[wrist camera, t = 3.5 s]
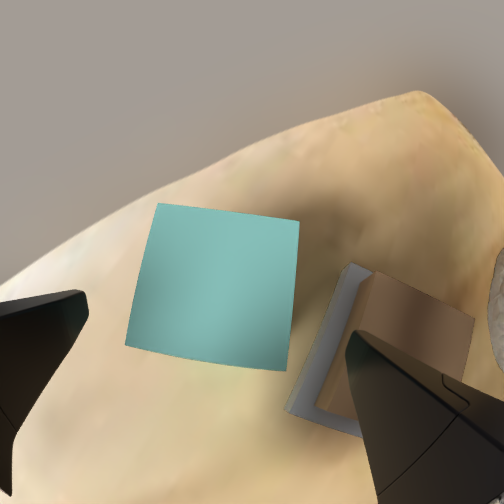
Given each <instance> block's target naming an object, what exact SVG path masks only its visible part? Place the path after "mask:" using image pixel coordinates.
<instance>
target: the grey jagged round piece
mask: <svg viewBox="0 0 504 504" xmlns="http://www.w3.org/2000/svg"><path fill="white" fill-rule="evenodd" d="M494 269H495V272H494V278H493V279H492V284H491V289H490V294H489V297H490V298H489V299H490V302H488V325H489V332H490V339H491V344H492V345H493V352H494V355H495V358H496V361H497V363H498V364H499V367H500V368H501V370H502V371H503V372H504V249H502V251H501V253H500V255H498V257H497V262H496V265H495V268H494Z"/></svg>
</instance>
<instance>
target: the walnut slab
mask: <svg viewBox="0 0 504 504" xmlns="http://www.w3.org/2000/svg"><path fill="white" fill-rule="evenodd" d="M474 321H475V318H473V317H471V316H469V315H467V314H465V313H463V312H461V311H459V310H457V309H455V308H453V307H451V306H449V305H447V304H445V303H443V302H441V301H439V300H437V299H435V298H433V297H431V296H429V295H427V294H425V293H423V292H421V291H419V290H417V289H415V288H413V287H411V286H408V285H406V284H404V283H402V282H400V281H398V280H396V279H394V278H392V277H390V276H388V275H385V274H383V273H381V272H379V271H375V272H374V273H373V274H371V275H370V276H369V277H367V278H366V279H364V280H363V281H362V282H360V284H359V288H358V291H357V294H356V297H355V300H354V303H353V306H352V309H351V312H350V315H349V318H348V320H347V323H346V326H345V329H344V332H343V334H342V337H341V340H340V342H339V345H338V348H337V350H336V353H335V356H334V358H333V361H332V363H331V366H330V368H329V371H328V373H327V376H326V378H325V380H324V383H323V385H322V388H321V390H320V392H319V395H318V397H317V399H316V402H315V404H314V406H316V407H319V408H321V409H323V410H326V411H328V412H331V413H334V414H337V415H341V416H344V417H347V418H350V419H353V420H357V421H358V418H357V414H356V410H355V407H354V403H353V400H352V396H351V392H350V388H349V381H348V374H347V368H346V361H345V349H346V346H347V344H348V341H349V339H350V336H351V333H352V332H353V331H354V330H365V331H367V332H369V333H371V334H372V335H374V336H376V337H378V338H380V339H381V340H383V341H385V342H387V343H389V344H390V345H392V346H394V347H396V348H398V349H400V350H401V351H403V352H405V353H407V354H409V355H411V356H412V357H414V358H416V359H418V360H420V361H422V362H423V363H425V364H427V365H429V366H431V367H433V368H434V369H436V370H438V371H440V372H441V373H445V374H446V375H448V376H450V377H452V378H454V379H456V380H458V381H460V382H461V380H462V376H463V373H464V369H465V365H466V361H467V356H468V352H469V347H470V343H471V338H472V333H473V327H474Z"/></svg>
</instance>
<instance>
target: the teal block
mask: <svg viewBox="0 0 504 504" xmlns="http://www.w3.org/2000/svg"><path fill="white" fill-rule="evenodd" d="M299 223H300V221H294V220H288V219H281V218H274V217H267V216H259V215H252V214H245V213H237V212H230V211H222V210H214V209H206V208H198V207H189V206H181V205H172V204H163V203H158V204H157V208H156V211H155V215H154V218H153V222H152V225H151V229H150V233H149V237H148V240H147V244H146V248H145V252H144V256H143V260H142V264H141V268H140V272H139V277H138V281H137V286H136V290H135V295H134V299H133V304H132V309H131V314H130V319H129V324H128V330H127V335H126V341H125V345H126V346H130V347H134V348H139V349H143V350H147V351H152V352H156V353H161V354H165V355H170V356H175V357H180V358H185V359H191V360H197V361H203V362H209V363H215V364H222V365H229V366H236V367H244V368H252V369H262V370H274V371H286V368H287V359H288V350H289V341H290V331H291V321H292V311H293V300H294V289H295V277H296V265H297V252H298V238H299Z"/></svg>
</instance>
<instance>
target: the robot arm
mask: <svg viewBox="0 0 504 504" xmlns="http://www.w3.org/2000/svg"><path fill="white" fill-rule="evenodd" d="M88 316H89V309H88V304H87V298H86V294H85V292H84V291H80V290H76V289H74V290H68V291H62V292H57V293H51V294H46V295H40V296H34V297H29V298H23V299H17V300H12V301H6V302H0V490H1V491H2V492H4V493H5V494H7V495H8V496H10V497H11V496H12V450H13V442H14V439H15V436H16V434H17V432H18V431H19V429H20V427H21V426H22V424H23V422H24V421H25V419H26V417H27V416H28V414H29V412H30V411H31V409H32V407H33V406H34V404H35V402H36V401H37V399H38V398H39V396H40V394H41V393H42V391H43V390H44V388H45V387H46V385H47V384H48V382H49V381H50V379H51V377H52V376H53V374H54V373H55V371H56V370H57V368H58V367H59V365H60V364H61V363H62V361H63V360H64V358H65V357H66V355H67V354H68V352H69V351H70V349H71V348H72V346H73V345H74V343H75V341H76V339H77V337H78V335H79V334H80V332H81V330H82V328H83V326H84V325H85V323H86V321H87V319H88ZM345 361H346V368H347V374H348V381H349V388H350V392H351V396H352V400H353V403H354V407H355V410H356V414H357V418H358V421H359V425H360V429H361V433H362V437H363V441H364V444H365V448H366V452H367V456H368V461H369V465H370V469H371V473H372V477H373V482H374V486H375V490H376V495H377V500H378V504H504V402H503V401H501V400H499V399H496V398H494V397H492V396H490V395H487V394H485V393H483V392H481V391H479V390H476V389H474V388H472V387H470V386H468V385H466V384H464V383H462V382H460V381H458V380H456V379H454V378H452V377H450V376H448V375H446V374H445V373H441V372H440V371H438V370H436V369H434V368H433V367H431V366H429V365H427V364H425V363H423V362H422V361H420V360H418V359H416V358H414V357H412V356H411V355H409V354H407V353H405V352H403V351H401V350H400V349H398V348H396V347H394V346H392V345H390V344H389V343H387V342H385V341H383V340H381V339H380V338H378V337H376V336H374V335H372V334H371V333H369V332H367V331H365V330H354V331H353V332H352V333H351V336H350V339H349V341H348V344H347V346H346V349H345Z"/></svg>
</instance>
